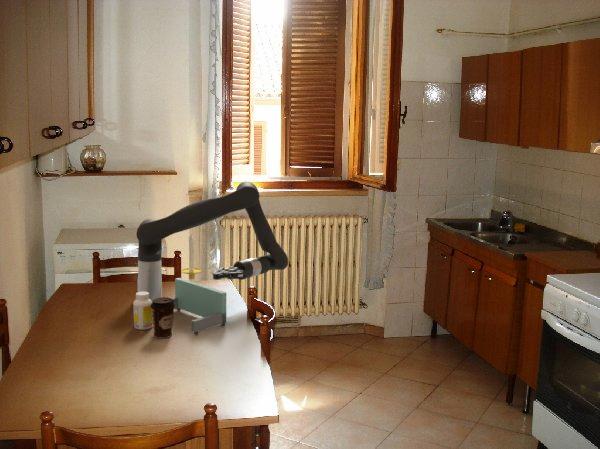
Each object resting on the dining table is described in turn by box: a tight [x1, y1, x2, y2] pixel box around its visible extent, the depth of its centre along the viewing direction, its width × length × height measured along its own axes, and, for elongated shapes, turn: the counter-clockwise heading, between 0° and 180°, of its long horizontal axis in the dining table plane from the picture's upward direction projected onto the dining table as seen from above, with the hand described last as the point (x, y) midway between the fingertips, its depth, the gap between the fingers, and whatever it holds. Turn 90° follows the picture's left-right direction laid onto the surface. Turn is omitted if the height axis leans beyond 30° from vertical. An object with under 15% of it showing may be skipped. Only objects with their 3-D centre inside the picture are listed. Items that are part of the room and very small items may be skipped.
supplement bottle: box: [132, 291, 153, 331], centre depth 247 cm, size 7×7×13 cm
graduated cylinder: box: [181, 231, 202, 283], centre depth 289 cm, size 10×10×27 cm
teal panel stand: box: [171, 277, 227, 336], centre depth 253 cm, size 28×15×13 cm, turn 48°
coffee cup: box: [150, 296, 175, 339], centre depth 239 cm, size 9×8×13 cm
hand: (214, 276), depth 261 cm, fingers closed
